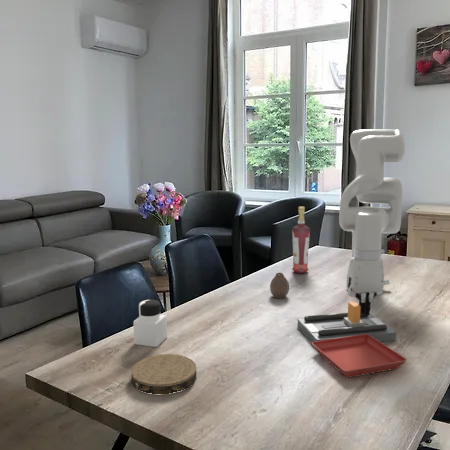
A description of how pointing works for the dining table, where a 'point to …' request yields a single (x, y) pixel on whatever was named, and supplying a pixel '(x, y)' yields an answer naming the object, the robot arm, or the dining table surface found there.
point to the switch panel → (343, 327)
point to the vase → (279, 286)
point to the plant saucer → (358, 354)
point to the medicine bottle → (150, 324)
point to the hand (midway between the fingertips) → (364, 313)
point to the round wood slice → (163, 374)
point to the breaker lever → (353, 315)
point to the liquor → (300, 244)
